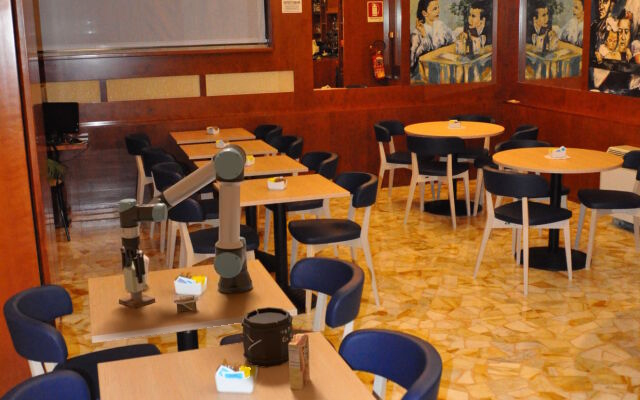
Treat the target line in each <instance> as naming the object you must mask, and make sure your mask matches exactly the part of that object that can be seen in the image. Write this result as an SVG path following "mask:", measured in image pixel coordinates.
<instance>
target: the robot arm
mask: <svg viewBox="0 0 640 400" xmlns="http://www.w3.org/2000/svg"><path fill="white" fill-rule="evenodd" d="M247 158H248V157H247V153H246V151H245V150H244V149H243V147H242V146H241V145H238V144H235V143H232V144H227V145H225V146H223V147H222V148H221V149H220V150H219V151H218V152H217V153H216V154H214V155H212V156H211V160H209V161H208V162H207V163H205V164H203V165H202V166H201V167H199V168H197V169H196V170H195V171H194V170H193V172H191V173H190V174H188V175H187V176H185V177H184V178H182V179H180V180H179V181H177V182H176V183H174V185H172V186H170V187H169V188H167V189H166V190H164V191H163V192H161V193H159V194H158V195H157V194H156V196H154V197H153V198H152V199H151V201H149V203H138V202H137V199H135V198H125V199H121V200H119V202H118V218H119V224H120V233H121V234H120V236H121V245H122V247H120V248H119V249H120V250H119V251H120V253H121V268H122V271H124V269H123V268H125V267H129V266H132V261H133V264H134V267H135V271H136V276H135V277H136V287H137V291H140V290H142V291H143V290H144V289H143V279H142V275H145V266H144V258H143V257H144V255H145V253H144V251H143V252H140V251H139V250H140V249H139V246H140V245H141V237H140V224H139V223H153V222H154V223H155V222H156V223H160V222H165V221H166V220H168V211H169V210H170V209H172V208H173V207H175V206H176V205H177V204H179V203H181V202H182V201H184V200H185V199H188V197H190V196H192V195H193V194H195V193H196V192H198V191H200V190H201V189H202V188H204V187H206V186H207V185H208V184H210V183H212V182H214V181H215V182H217V183H218V184H219V187H218V188H219V189H218V190H219V191H218V193H219V195H218V199H219V200H218V240H217V241H216V242H215V245H214V250H215V251H214V260H213V268H214V271H215V273H216V274H217V275H219V279H218V283H217V290H218V291H219V292H221V293H222V294H223V293H224V294H239V293H245V292H248V291H250V290H251V289H253V281H252V280H253V279H252V277H251V275H250V273H249V270H248V259H247V258H248V256H247V255H248V254H247V242H246V238H245V237H243V236H241V235H240V234H241V230H240V229H241V227H240V226H241V225H240V223H241V184H243V182H244V181H245V165H246V163H247V160H248V159H247ZM136 257H137V258H136ZM134 258H135V259H134Z"/></svg>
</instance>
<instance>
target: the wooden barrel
mask: <svg viewBox="0 0 640 400" xmlns="http://www.w3.org/2000/svg"><path fill="white" fill-rule="evenodd" d="M241 326H242V334H240V340H242V346H243V357H244V358H246V359H245V360H246V361H247V362H248V363H249V364H250V365H252V366H253V365H258V366H257V367H261V368H271V367H278V366H283V365H284V364H286V363H287V362H288V363H289V349H288V344H289V343H290V342H291V340H292V339H293V338H294V327H293V316H292V315H291V314H290V312H289V311H288V310H287V309H286V310H285V309H284V308H282V307H271V306H267V307H260V308H257V309H252V310H250V311H248V312H247V313H246V314H245V315H244V317H243V319H242V322H241Z"/></svg>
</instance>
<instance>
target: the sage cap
mask: <svg viewBox="0 0 640 400" xmlns="http://www.w3.org/2000/svg"><path fill="white" fill-rule="evenodd" d="M123 269H124V270H123V278H124V280H123V281H124V289H125V290H126V291H128V292H130V291H131V292H133V293H134V292H137V287H136V277H135V276H136V271H135V267H134V265H132V266H129V267H125V268H123ZM142 279H143V290H147V289H146V285H145V277H144V275H142Z"/></svg>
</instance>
